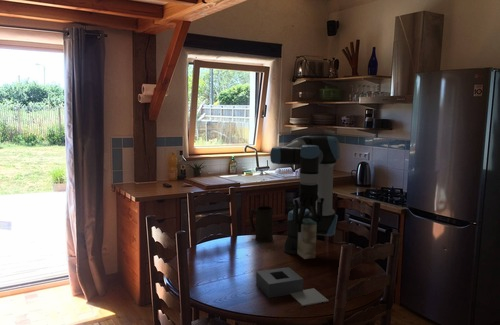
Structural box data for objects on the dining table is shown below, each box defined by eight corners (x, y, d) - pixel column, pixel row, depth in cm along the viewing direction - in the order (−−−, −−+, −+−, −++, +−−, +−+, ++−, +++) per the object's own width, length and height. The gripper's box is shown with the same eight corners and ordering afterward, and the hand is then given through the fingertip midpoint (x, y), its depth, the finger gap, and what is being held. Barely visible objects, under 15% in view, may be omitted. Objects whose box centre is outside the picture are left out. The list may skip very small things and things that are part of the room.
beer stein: (276, 238, 248) (275, 205, 246) (271, 243, 238) (269, 209, 236) (252, 236, 254) (250, 205, 251) (246, 242, 244) (244, 209, 241)
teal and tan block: (307, 252, 174) (309, 218, 172) (315, 257, 167) (316, 222, 166) (297, 253, 172) (298, 219, 170) (304, 259, 166) (305, 223, 164)
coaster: (313, 289, 179) (313, 288, 179) (328, 301, 168) (328, 300, 168) (289, 293, 175) (289, 292, 175) (302, 306, 164) (302, 304, 164)
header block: (288, 279, 189) (288, 267, 188) (302, 292, 176) (303, 279, 175) (256, 284, 183) (256, 271, 183) (268, 297, 170) (269, 284, 170)
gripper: (323, 180, 172) (321, 234, 175) (284, 182, 166) (283, 238, 169) (333, 183, 165) (330, 239, 168) (292, 186, 159) (291, 243, 162)
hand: (306, 238), depth 169 cm, fingers closed on teal and tan block, 5 cm apart
